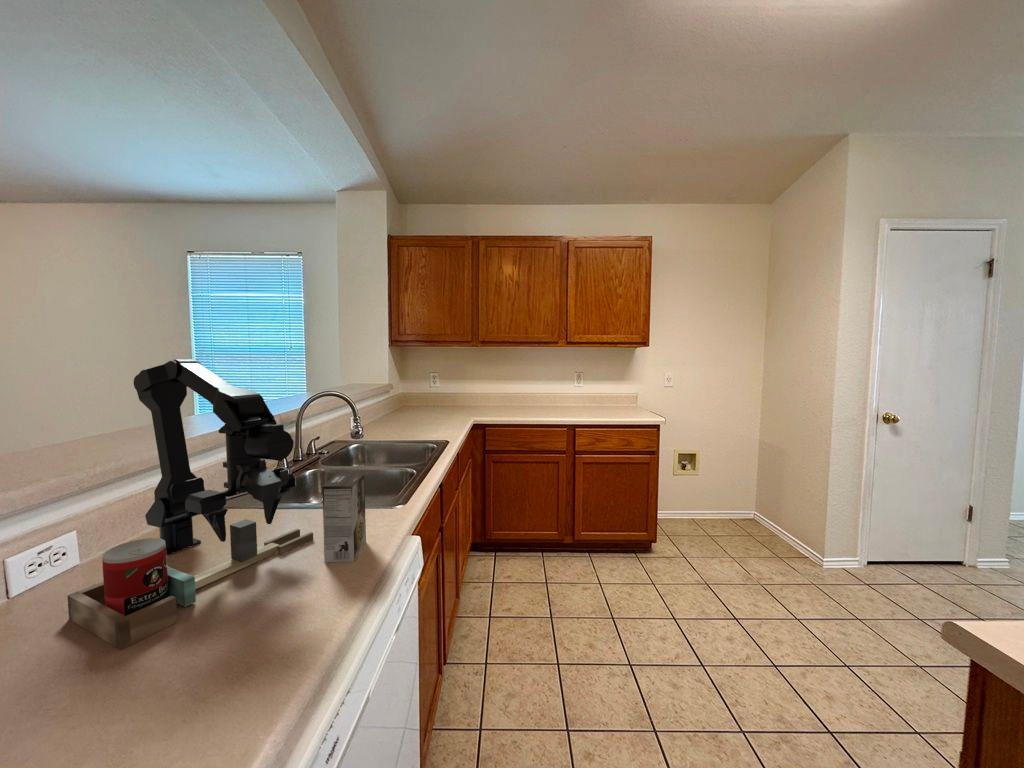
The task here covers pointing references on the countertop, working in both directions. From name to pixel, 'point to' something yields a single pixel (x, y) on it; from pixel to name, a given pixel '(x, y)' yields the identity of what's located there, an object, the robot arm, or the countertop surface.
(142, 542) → the canned food
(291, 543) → the guide
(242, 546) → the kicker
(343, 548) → the coffee box
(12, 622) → the countertop surface
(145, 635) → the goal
